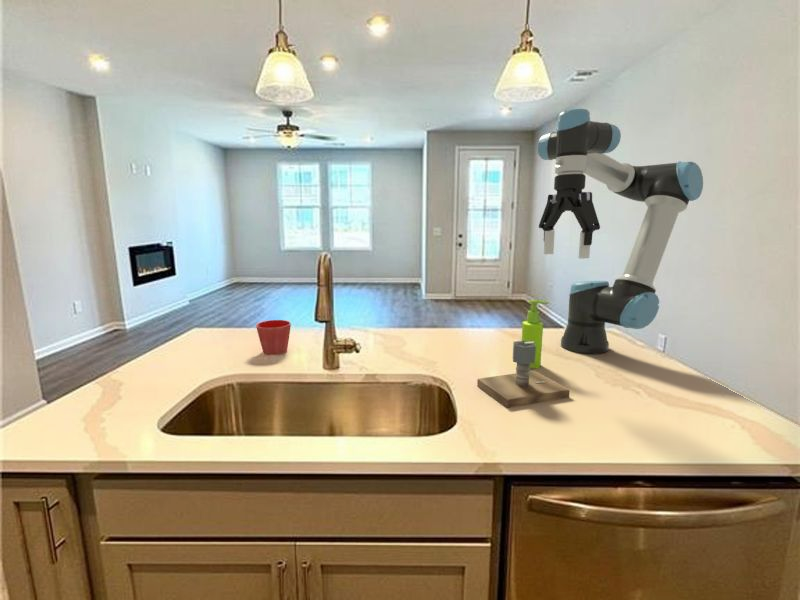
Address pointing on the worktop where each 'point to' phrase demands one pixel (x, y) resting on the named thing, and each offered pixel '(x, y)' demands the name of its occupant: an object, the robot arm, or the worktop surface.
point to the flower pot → (274, 336)
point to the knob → (524, 352)
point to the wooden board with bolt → (522, 387)
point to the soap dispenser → (534, 331)
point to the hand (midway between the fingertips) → (565, 256)
